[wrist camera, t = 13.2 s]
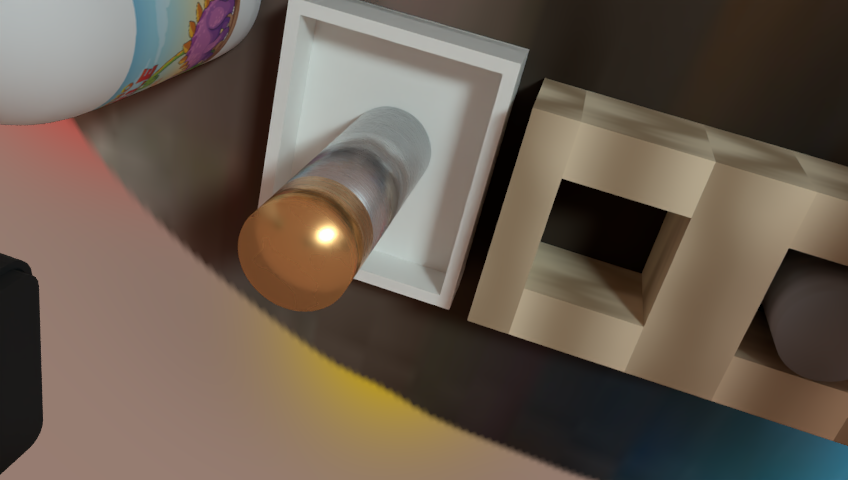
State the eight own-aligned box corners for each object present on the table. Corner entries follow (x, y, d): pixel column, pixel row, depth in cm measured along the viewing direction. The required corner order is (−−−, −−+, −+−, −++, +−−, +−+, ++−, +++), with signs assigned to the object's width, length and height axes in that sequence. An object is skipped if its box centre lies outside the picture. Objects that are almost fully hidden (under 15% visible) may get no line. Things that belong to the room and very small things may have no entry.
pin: (440, 121, 36) (362, 223, 25) (420, 199, 37) (339, 326, 27) (357, 95, 36) (245, 186, 25) (341, 174, 38) (231, 290, 27)
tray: (529, 49, 34) (521, 64, 32) (460, 281, 40) (449, 310, 37) (314, -13, 35) (289, -4, 33) (276, 221, 41) (252, 245, 38)
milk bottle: (84, -73, 37) (-425, -26, 19) (216, -151, 34) (-235, -181, 16) (166, 81, 39) (-217, 252, 21) (296, 20, 36) (-20, 159, 18)
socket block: (962, 200, 33) (1027, 263, 27) (848, 387, 37) (885, 471, 32) (544, 78, 35) (530, 114, 29) (485, 270, 39) (463, 332, 34)
